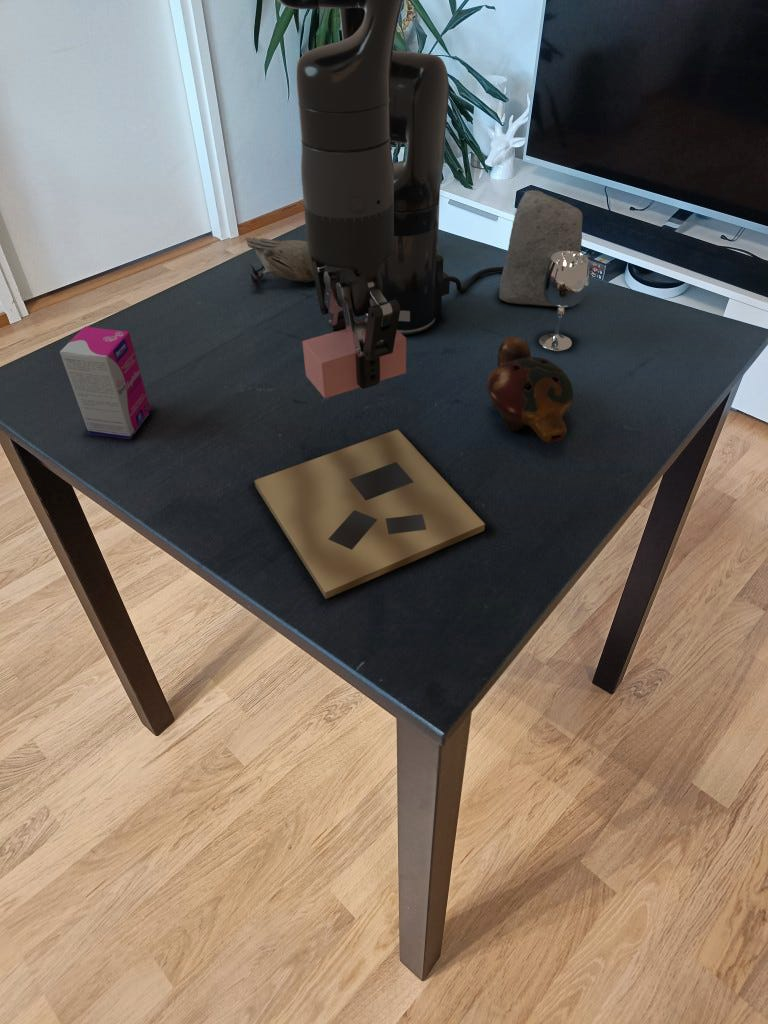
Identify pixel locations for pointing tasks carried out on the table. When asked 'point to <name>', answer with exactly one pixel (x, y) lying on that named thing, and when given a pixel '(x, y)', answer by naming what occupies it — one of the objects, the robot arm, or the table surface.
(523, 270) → the decorative stone
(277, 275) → the decorative bird
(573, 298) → the wineglass
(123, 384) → the supplement box
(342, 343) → the eraser
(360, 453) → the board
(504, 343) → the brown ceramic rounded figure
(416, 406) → the table surface
